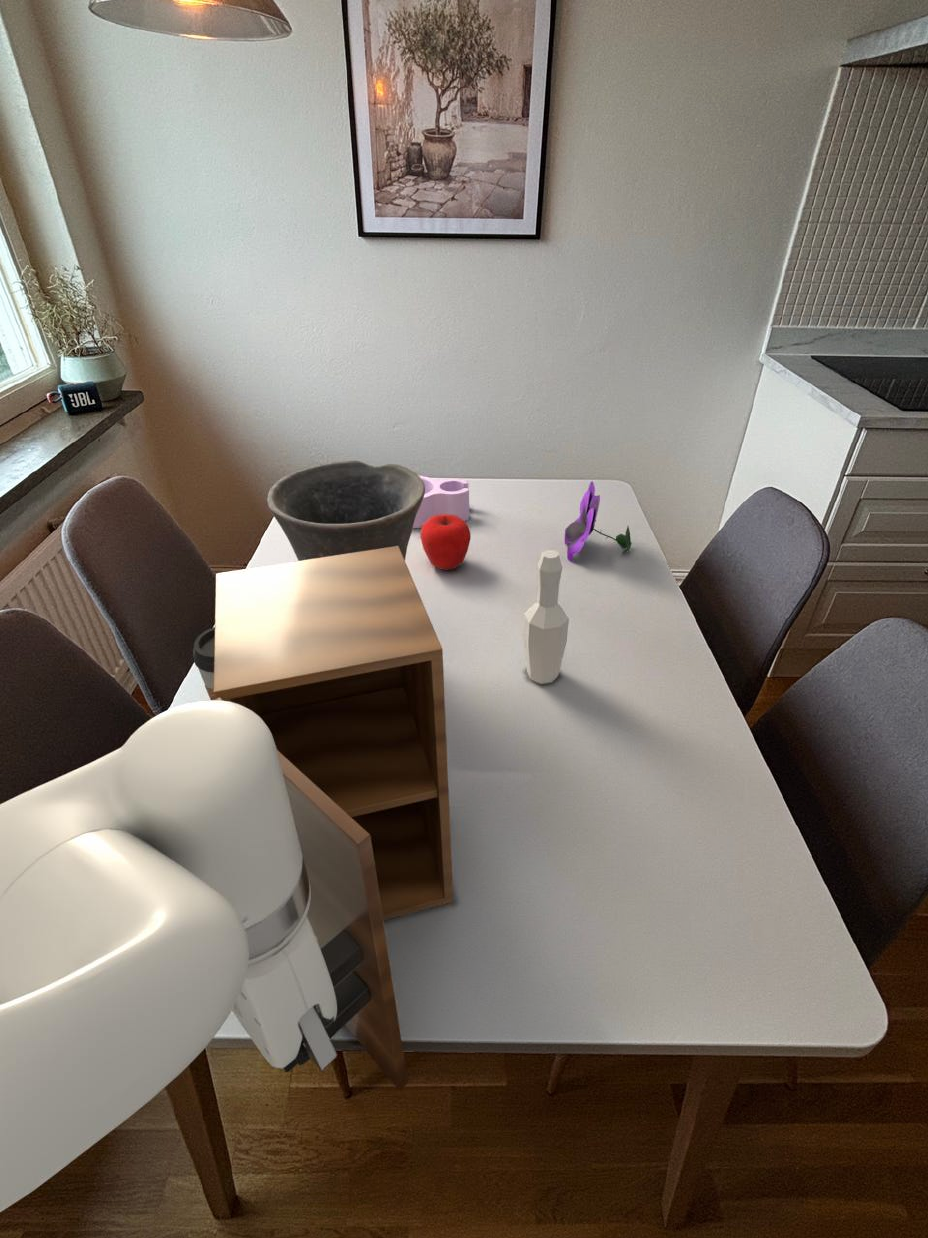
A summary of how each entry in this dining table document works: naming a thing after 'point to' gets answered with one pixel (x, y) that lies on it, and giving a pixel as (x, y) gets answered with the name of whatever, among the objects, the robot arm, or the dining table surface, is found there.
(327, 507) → the vase
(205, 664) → the coffee cup
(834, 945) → the dining table surface
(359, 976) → the cupboard door
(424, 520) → the purple cup holder
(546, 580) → the faceted bottle
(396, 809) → the cupboard
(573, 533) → the flower
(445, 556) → the apple
